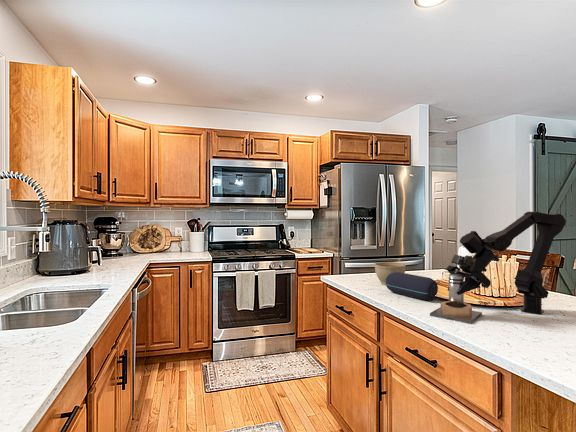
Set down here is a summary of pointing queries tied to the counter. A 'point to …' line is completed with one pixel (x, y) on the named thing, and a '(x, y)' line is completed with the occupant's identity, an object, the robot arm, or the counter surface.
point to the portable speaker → (412, 285)
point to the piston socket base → (456, 313)
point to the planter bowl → (388, 269)
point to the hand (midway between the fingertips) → (452, 292)
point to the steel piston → (455, 290)
